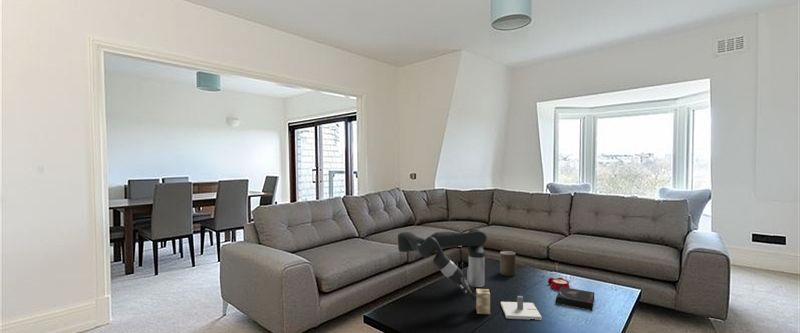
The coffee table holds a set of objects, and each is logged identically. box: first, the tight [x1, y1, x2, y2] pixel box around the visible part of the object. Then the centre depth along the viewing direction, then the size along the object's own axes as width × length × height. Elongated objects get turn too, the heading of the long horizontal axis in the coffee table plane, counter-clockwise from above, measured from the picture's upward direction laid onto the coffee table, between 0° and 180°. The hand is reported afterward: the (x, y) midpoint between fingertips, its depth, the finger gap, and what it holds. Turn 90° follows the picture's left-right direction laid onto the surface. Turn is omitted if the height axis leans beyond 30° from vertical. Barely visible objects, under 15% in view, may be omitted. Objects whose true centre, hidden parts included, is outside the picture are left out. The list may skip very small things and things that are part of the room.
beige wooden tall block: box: [475, 288, 491, 315], centre depth 179 cm, size 6×6×10 cm
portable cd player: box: [554, 287, 595, 311], centre depth 191 cm, size 16×17×4 cm
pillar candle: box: [499, 250, 517, 277], centre depth 235 cm, size 10×10×15 cm
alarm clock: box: [547, 277, 573, 291], centre depth 212 cm, size 10×6×15 cm
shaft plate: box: [500, 295, 543, 321], centre depth 178 cm, size 16×16×8 cm
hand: (474, 295), depth 179 cm, fingers open, 8 cm apart
